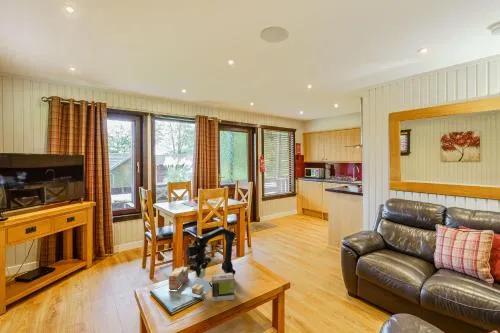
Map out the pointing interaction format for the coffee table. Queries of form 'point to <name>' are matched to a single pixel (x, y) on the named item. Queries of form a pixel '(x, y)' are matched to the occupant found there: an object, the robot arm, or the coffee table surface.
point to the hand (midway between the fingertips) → (200, 275)
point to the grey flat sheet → (204, 283)
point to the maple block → (198, 289)
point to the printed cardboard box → (178, 278)
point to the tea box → (222, 287)
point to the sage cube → (201, 274)
